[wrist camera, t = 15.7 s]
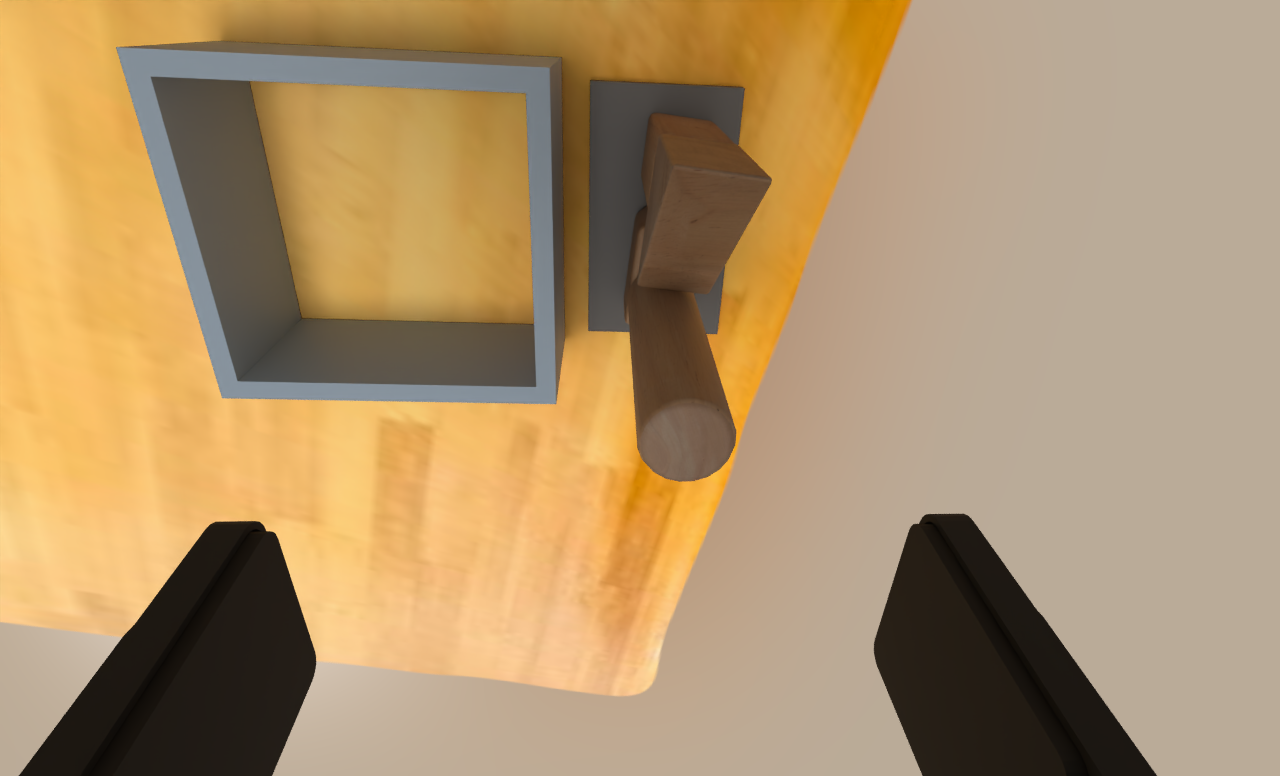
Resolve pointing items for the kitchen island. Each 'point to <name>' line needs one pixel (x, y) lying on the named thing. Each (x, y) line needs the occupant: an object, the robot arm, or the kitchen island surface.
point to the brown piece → (684, 290)
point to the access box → (254, 244)
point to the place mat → (638, 181)
